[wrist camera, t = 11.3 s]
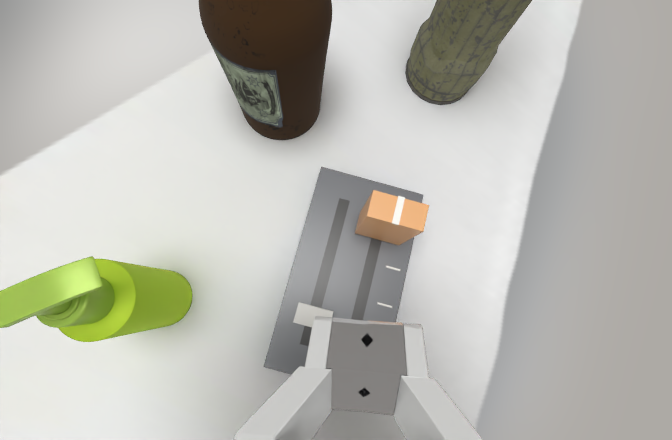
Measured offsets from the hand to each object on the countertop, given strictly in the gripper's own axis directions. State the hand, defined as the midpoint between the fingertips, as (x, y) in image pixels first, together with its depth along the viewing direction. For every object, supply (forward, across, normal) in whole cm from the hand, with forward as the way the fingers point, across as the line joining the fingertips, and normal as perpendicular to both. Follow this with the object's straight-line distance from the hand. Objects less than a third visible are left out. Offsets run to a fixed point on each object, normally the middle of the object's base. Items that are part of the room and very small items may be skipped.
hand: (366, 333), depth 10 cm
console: (+24, +2, +20) cm, 31 cm away
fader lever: (+26, -2, +15) cm, 30 cm away
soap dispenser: (+19, +20, +20) cm, 35 cm away
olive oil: (+37, +11, +5) cm, 39 cm away
